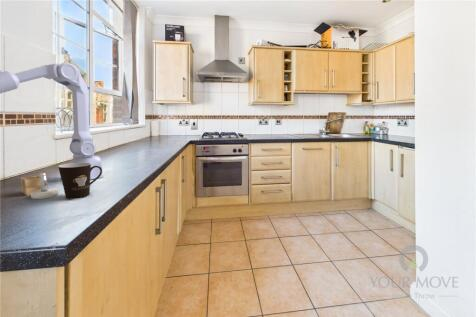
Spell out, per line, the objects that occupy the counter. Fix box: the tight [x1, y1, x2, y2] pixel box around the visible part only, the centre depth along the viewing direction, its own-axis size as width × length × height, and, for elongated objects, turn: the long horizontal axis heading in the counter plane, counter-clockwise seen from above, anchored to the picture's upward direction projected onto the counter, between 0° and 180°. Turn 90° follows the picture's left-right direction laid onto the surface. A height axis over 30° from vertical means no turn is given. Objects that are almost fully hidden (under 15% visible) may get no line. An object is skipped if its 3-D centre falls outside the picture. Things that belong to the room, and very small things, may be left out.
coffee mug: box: [57, 162, 103, 200], centre depth 82 cm, size 12×9×10 cm
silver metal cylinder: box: [38, 172, 49, 192], centre depth 82 cm, size 2×2×6 cm
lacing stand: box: [30, 187, 59, 200], centre depth 82 cm, size 7×7×2 cm
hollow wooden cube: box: [20, 175, 41, 196], centre depth 85 cm, size 5×5×5 cm
